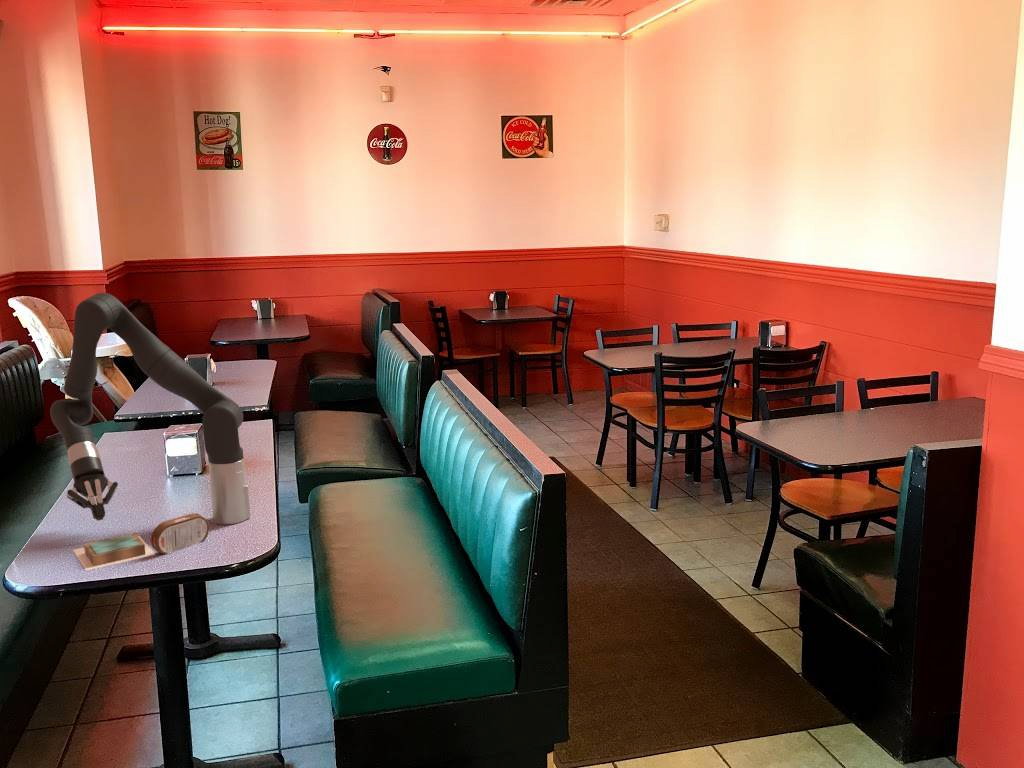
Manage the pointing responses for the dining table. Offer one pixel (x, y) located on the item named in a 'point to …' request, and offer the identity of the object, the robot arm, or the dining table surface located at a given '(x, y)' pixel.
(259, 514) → the dining table surface
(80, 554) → the placemat
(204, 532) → the tin
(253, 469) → the dining table surface
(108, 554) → the plaque
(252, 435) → the dining table surface
